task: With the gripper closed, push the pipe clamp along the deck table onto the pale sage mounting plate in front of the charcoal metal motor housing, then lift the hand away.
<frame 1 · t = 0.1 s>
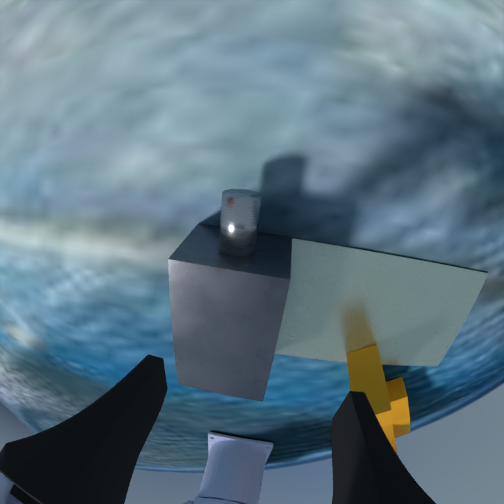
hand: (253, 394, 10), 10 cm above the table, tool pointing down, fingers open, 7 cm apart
pipe clamp: (380, 384, 23), on the table, touching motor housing
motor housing: (372, 315, 20), on the table
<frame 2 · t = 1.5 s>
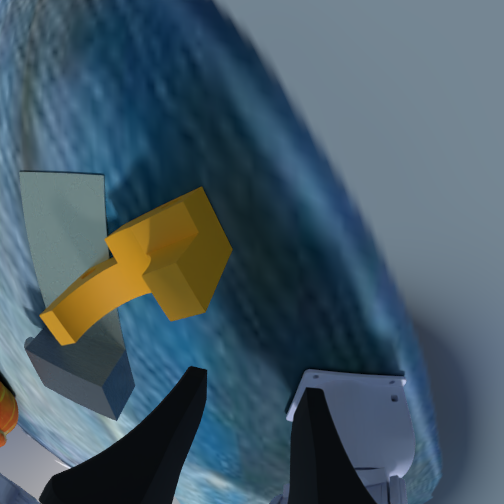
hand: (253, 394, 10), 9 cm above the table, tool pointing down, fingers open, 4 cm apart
pipe clamp: (143, 248, 19), on the table, touching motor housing
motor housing: (69, 275, 21), on the table
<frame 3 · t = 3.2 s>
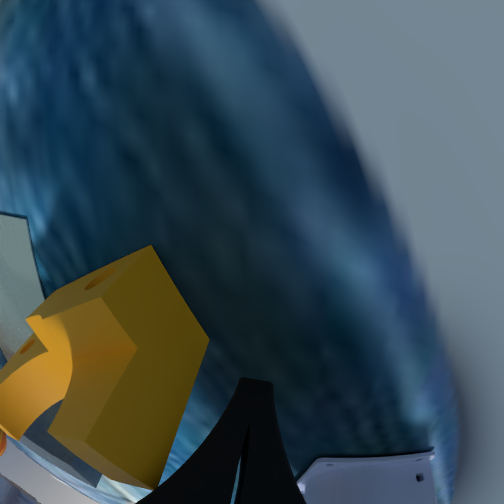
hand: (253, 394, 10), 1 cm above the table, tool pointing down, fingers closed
pipe clamp: (87, 322, 12), on the table, touching gripper, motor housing
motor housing: (18, 334, 14), on the table
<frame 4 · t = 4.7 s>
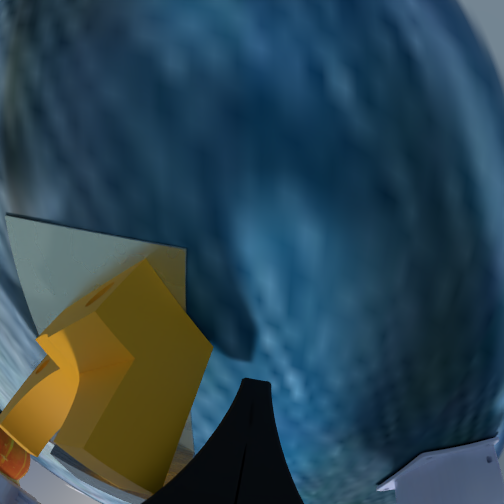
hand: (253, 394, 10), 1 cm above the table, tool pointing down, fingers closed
pipe clamp: (97, 339, 12), resting on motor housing, touching gripper
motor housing: (107, 376, 14), on the table
pumpkin: (1, 415, 34), on the table
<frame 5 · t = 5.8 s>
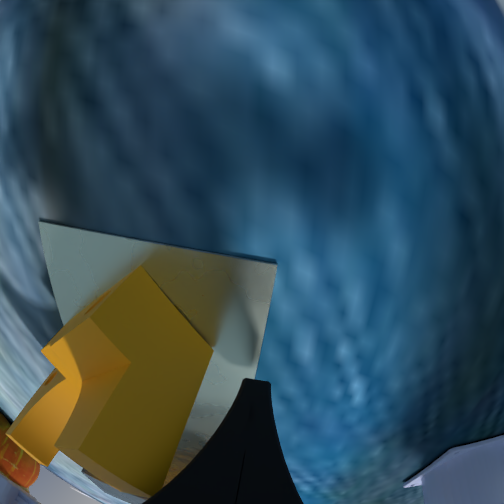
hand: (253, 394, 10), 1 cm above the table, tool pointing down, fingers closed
pipe clamp: (102, 348, 13), resting on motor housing, touching gripper
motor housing: (153, 393, 13), on the table
pumpkin: (8, 421, 33), on the table
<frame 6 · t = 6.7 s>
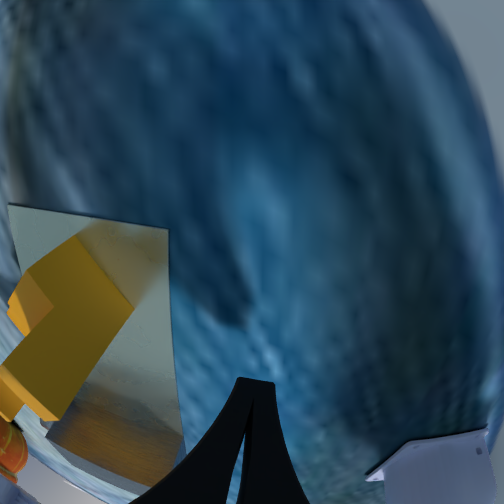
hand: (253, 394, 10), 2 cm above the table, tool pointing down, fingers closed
pipe clamp: (57, 314, 14), resting on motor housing
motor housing: (99, 357, 15), on the table
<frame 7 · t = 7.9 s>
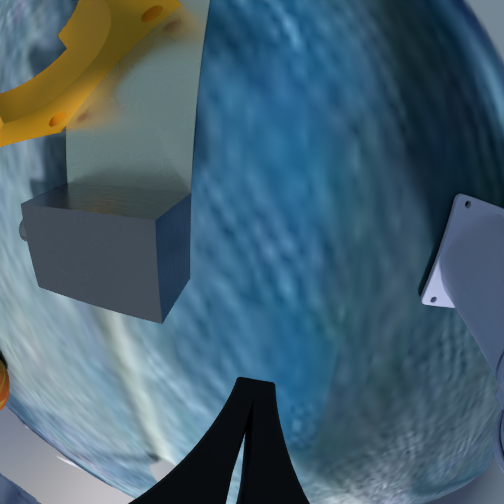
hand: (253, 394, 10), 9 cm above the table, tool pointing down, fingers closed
pipe clamp: (98, 51, 13), resting on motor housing
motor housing: (124, 80, 14), on the table
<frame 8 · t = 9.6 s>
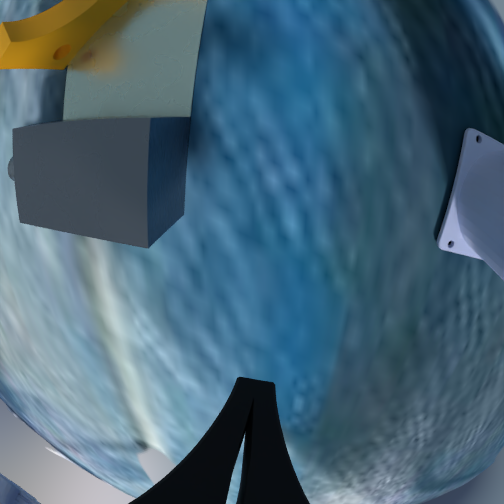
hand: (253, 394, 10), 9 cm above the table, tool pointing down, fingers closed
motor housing: (131, 16, 12), on the table
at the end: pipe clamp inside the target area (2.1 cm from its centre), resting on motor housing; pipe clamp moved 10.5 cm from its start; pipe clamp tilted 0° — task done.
